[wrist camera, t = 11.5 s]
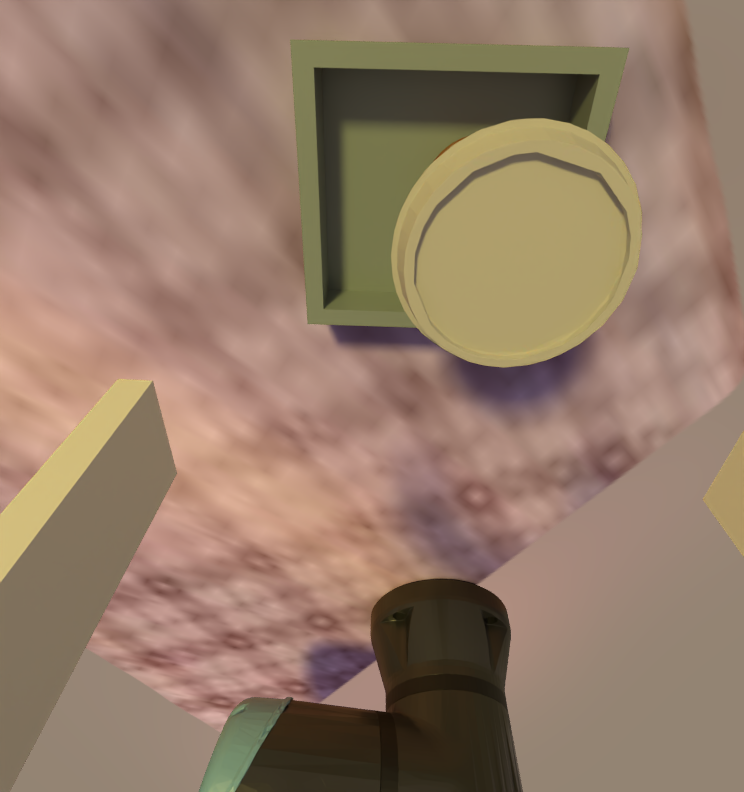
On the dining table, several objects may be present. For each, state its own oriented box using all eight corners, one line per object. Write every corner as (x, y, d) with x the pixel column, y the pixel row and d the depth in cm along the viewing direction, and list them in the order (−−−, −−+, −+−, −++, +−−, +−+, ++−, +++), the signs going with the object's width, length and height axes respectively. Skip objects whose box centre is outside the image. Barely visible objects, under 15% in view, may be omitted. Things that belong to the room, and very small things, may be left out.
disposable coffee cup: (595, 197, 28) (704, 272, 18) (462, 304, 32) (491, 413, 22) (494, 51, 24) (560, 44, 14) (359, 193, 28) (338, 264, 18)
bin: (538, 304, 33) (554, 332, 29) (316, 297, 33) (307, 324, 30) (597, 49, 25) (629, 47, 21) (303, 42, 25) (290, 39, 22)
